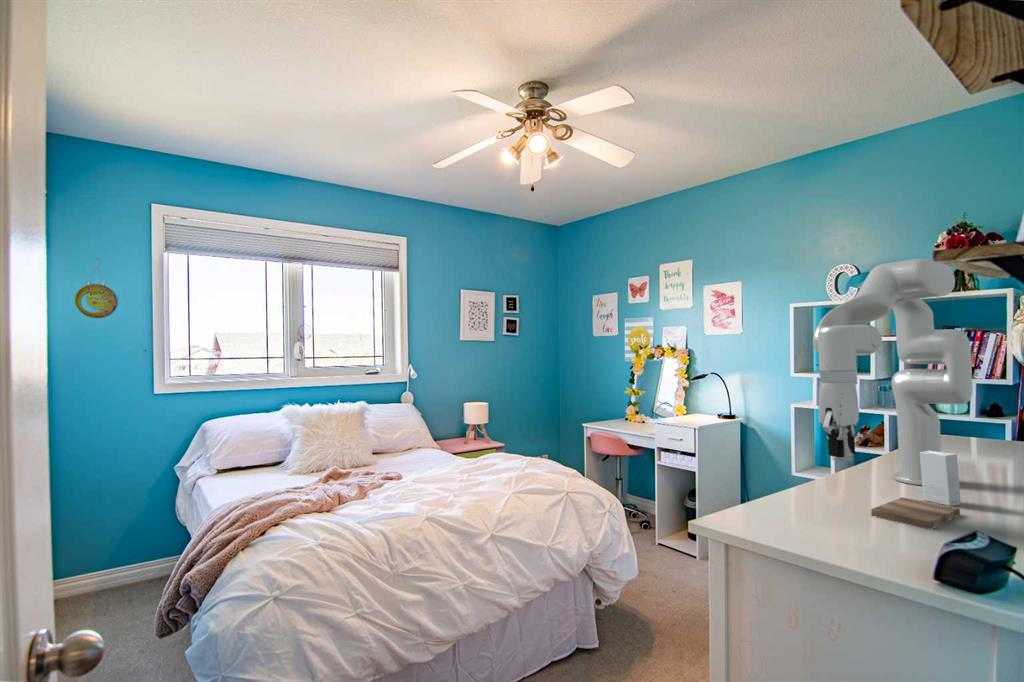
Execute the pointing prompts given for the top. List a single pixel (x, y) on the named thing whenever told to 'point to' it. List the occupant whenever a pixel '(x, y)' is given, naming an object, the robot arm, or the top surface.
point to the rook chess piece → (847, 452)
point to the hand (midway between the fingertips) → (841, 454)
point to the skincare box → (940, 478)
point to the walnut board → (915, 512)
